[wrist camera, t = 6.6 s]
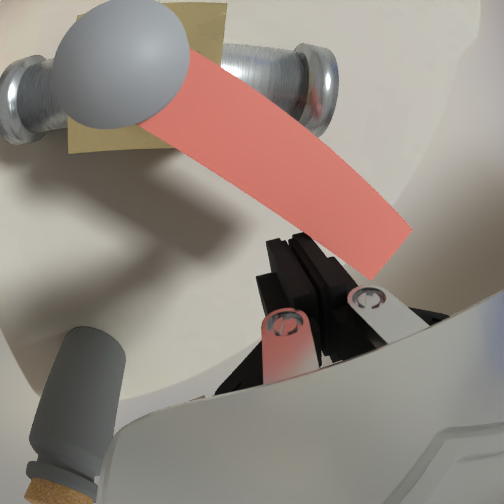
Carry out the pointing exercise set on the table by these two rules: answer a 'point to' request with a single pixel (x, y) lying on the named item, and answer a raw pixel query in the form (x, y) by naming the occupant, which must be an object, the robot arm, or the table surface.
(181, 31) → the lever
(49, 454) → the bottle
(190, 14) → the valve body
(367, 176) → the table surface
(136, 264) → the table surface
